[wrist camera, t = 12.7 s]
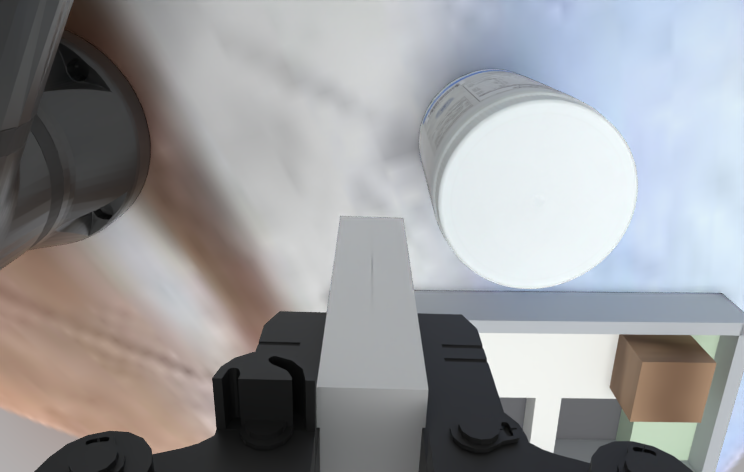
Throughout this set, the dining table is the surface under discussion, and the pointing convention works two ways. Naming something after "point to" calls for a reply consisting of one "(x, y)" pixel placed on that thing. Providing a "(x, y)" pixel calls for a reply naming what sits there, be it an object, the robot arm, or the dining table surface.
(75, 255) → the dining table surface
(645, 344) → the walnut block
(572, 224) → the supplement tub
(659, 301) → the box
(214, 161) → the dining table surface
